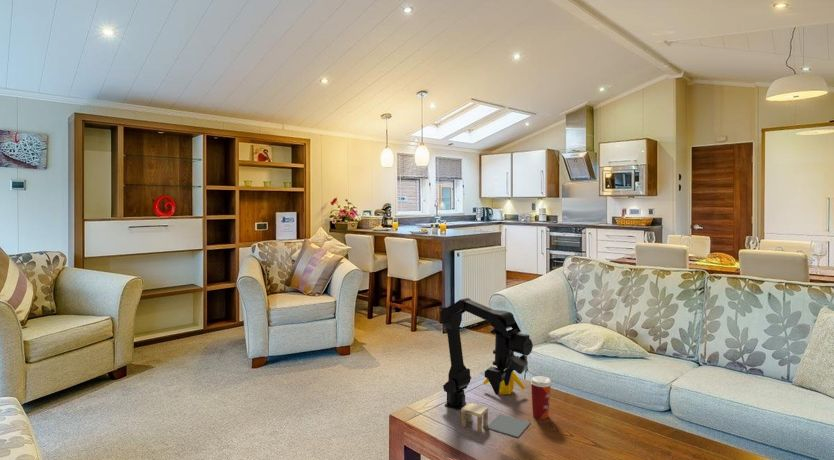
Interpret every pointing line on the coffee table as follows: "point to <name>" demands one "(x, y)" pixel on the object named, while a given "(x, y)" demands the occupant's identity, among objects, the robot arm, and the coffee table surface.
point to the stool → (475, 411)
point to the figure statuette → (509, 388)
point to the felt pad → (508, 425)
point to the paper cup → (540, 396)
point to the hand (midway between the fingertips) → (502, 390)
